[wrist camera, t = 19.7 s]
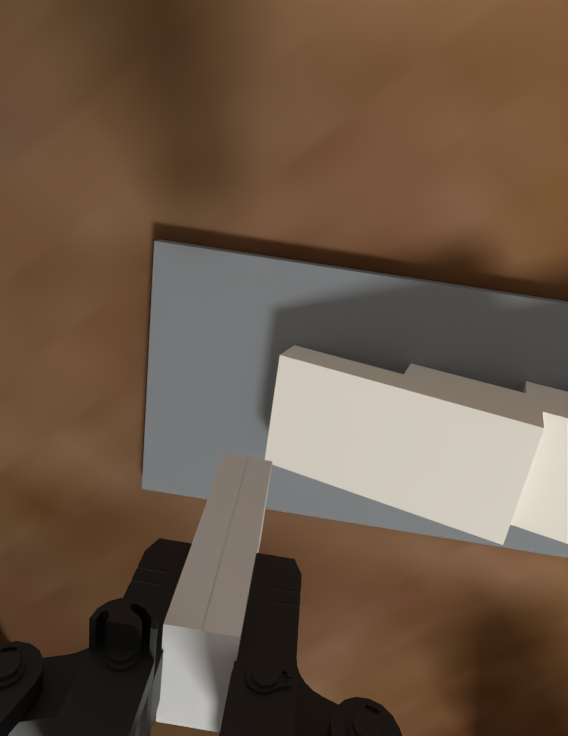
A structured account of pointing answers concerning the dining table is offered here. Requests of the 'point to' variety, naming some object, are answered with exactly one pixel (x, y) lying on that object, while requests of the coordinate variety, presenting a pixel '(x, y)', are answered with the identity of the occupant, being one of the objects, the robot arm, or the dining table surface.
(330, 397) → the domino
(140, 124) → the dining table surface
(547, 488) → the domino
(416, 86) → the dining table surface
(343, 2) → the dining table surface
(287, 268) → the mat
